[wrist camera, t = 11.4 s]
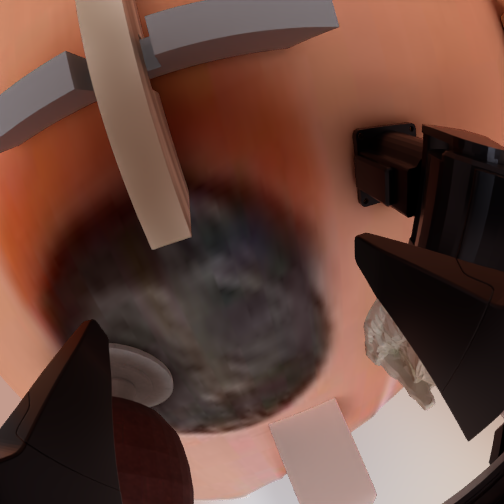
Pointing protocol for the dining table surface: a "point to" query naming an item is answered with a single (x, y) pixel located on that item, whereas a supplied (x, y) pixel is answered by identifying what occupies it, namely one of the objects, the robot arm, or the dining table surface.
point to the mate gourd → (146, 431)
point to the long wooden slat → (134, 119)
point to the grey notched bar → (163, 54)
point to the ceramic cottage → (396, 355)
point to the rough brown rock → (502, 19)
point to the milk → (322, 457)
